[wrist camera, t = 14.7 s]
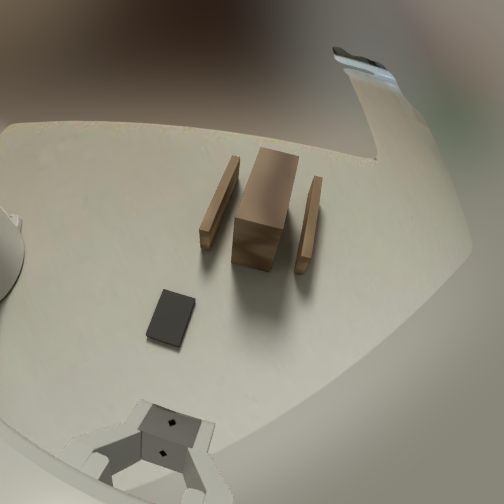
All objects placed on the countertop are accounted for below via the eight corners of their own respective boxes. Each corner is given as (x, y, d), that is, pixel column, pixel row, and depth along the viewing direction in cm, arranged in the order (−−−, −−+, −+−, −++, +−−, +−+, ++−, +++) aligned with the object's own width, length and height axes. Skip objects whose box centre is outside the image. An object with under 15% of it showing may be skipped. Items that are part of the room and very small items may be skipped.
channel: (200, 247, 39) (199, 229, 36) (230, 174, 47) (232, 155, 43) (302, 274, 38) (311, 258, 35) (315, 196, 46) (322, 177, 43)
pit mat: (146, 336, 32) (145, 335, 32) (164, 290, 35) (163, 289, 35) (179, 347, 32) (178, 346, 32) (195, 299, 35) (195, 298, 35)
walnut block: (231, 262, 39) (234, 217, 31) (253, 194, 45) (260, 147, 37) (269, 272, 38) (283, 229, 31) (286, 202, 45) (299, 156, 37)
